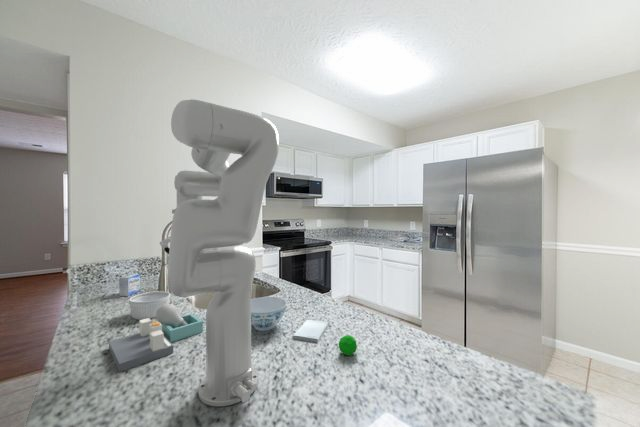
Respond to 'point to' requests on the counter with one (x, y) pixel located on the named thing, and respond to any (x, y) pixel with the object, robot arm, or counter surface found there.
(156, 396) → the counter surface
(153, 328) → the block
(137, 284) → the medicine box
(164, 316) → the lightbulb
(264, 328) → the chinaware
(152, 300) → the ramekin
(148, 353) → the breaker panel
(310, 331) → the hard drive
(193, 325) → the socket
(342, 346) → the polyhedron
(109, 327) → the counter surface
